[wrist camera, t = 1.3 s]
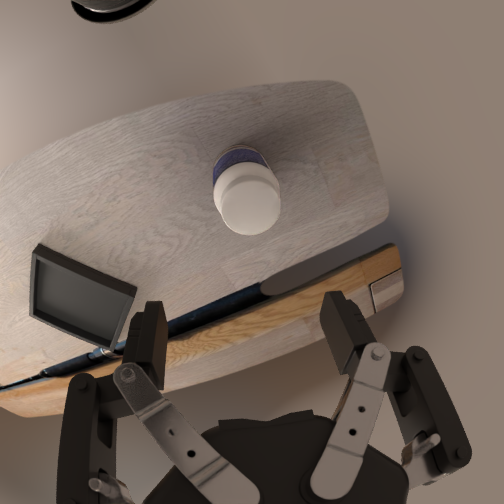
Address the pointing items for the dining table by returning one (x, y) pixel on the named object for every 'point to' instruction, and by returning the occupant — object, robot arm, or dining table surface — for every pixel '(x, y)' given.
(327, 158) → the dining table surface
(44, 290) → the serving tray
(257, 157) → the pill bottle
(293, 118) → the dining table surface
